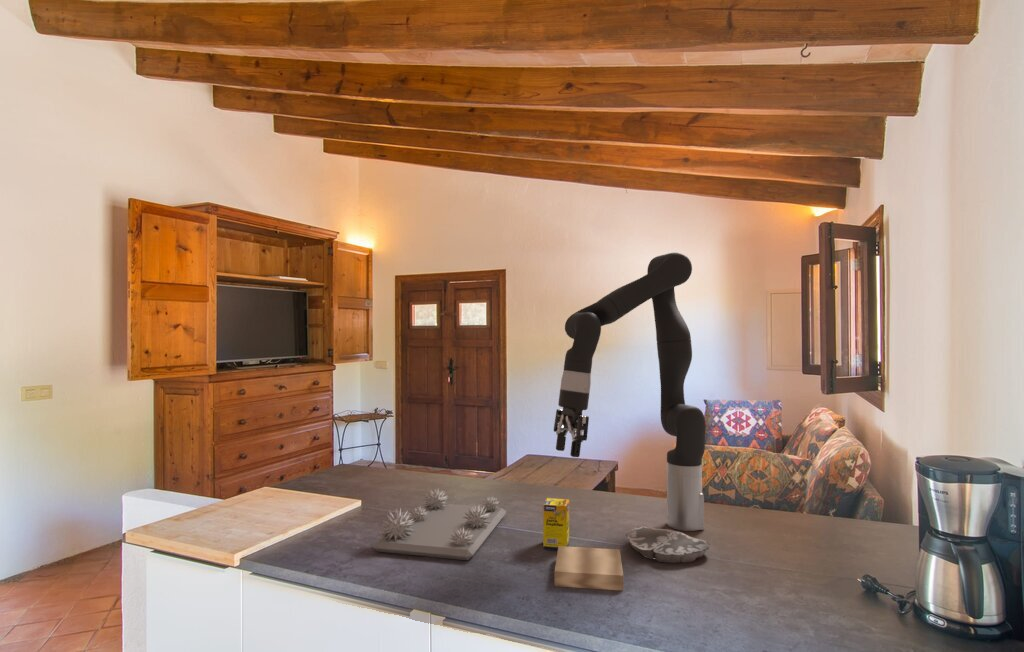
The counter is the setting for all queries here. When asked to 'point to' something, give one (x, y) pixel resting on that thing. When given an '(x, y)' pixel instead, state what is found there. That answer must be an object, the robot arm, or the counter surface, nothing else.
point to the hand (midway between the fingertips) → (567, 453)
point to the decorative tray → (440, 528)
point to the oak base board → (589, 568)
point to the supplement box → (555, 523)
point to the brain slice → (666, 544)
